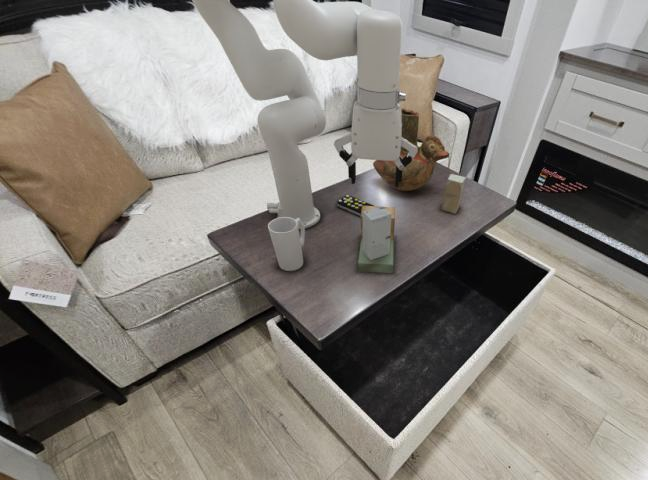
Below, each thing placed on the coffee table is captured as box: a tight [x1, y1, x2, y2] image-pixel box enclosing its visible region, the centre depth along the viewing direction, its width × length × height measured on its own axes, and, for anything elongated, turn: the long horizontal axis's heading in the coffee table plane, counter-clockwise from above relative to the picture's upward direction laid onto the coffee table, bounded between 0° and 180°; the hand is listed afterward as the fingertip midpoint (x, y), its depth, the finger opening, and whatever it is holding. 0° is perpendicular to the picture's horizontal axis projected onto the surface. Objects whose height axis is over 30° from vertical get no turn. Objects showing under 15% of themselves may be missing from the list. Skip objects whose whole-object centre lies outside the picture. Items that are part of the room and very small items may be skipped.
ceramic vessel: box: [372, 107, 451, 192], centre depth 112 cm, size 17×26×25 cm, turn 77°
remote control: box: [336, 194, 375, 217], centre depth 108 cm, size 6×13×2 cm, turn 57°
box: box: [441, 173, 467, 215], centre depth 108 cm, size 5×4×11 cm
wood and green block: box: [357, 205, 396, 274], centre depth 90 cm, size 9×16×10 cm, turn 0°
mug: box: [267, 217, 306, 272], centre depth 85 cm, size 10×7×12 cm, turn 151°
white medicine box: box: [362, 205, 391, 260], centre depth 84 cm, size 6×4×12 cm
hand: (375, 182), depth 75 cm, fingers open, 9 cm apart
